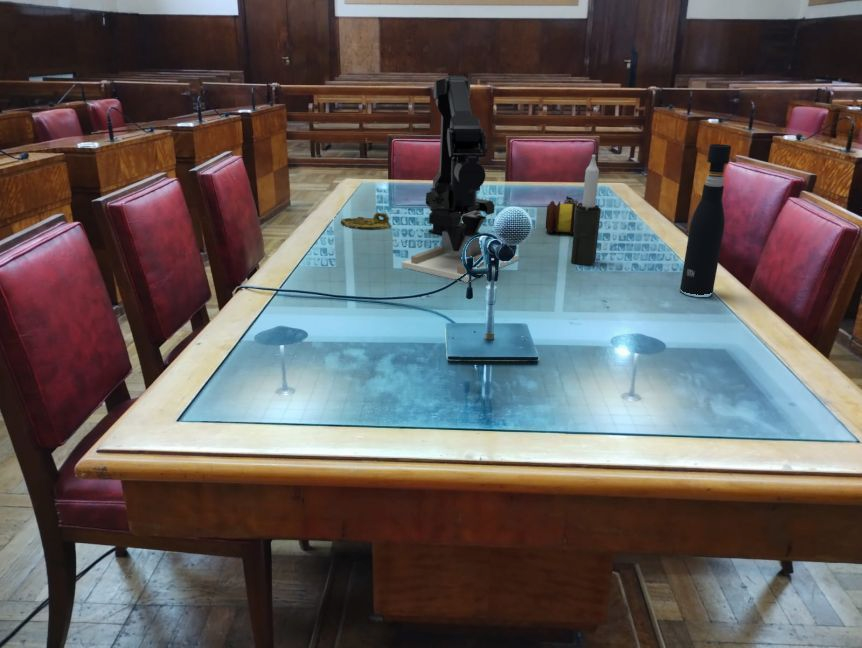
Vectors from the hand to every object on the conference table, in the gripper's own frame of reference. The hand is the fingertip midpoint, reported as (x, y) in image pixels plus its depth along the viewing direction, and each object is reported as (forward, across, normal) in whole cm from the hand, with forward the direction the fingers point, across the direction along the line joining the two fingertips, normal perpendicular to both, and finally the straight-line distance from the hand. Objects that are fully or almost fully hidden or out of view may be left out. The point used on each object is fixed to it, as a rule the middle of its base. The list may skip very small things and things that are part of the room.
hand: (461, 248), depth 160 cm
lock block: (+1, 0, 0) cm, 1 cm away
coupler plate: (+4, 0, 0) cm, 4 cm away
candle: (+4, -19, +22) cm, 29 cm away
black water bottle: (+4, -13, +50) cm, 52 cm away
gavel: (+4, -52, +2) cm, 52 cm away
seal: (+4, -14, -41) cm, 44 cm away
